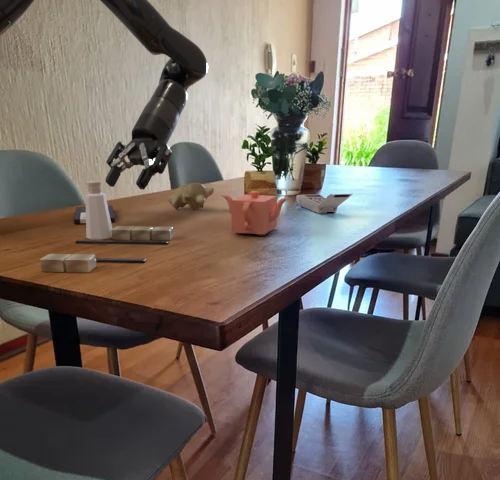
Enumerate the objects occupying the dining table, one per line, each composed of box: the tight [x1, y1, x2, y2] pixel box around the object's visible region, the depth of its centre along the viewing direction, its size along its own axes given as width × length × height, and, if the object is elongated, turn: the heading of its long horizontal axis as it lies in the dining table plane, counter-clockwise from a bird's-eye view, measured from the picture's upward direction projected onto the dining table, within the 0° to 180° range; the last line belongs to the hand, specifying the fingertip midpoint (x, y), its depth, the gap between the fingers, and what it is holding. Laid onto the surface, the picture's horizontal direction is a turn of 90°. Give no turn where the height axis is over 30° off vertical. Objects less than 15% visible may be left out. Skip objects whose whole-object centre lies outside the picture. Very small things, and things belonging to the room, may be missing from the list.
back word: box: [75, 225, 175, 245], centre depth 100 cm, size 18×7×2 cm, turn 86°
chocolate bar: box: [73, 205, 116, 225], centre depth 124 cm, size 9×1×18 cm
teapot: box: [220, 190, 291, 237], centre depth 106 cm, size 12×15×8 cm
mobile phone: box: [295, 193, 353, 215], centre depth 131 cm, size 6×6×25 cm
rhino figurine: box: [167, 182, 215, 211], centre depth 132 cm, size 8×7×12 cm
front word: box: [39, 253, 147, 273], centre depth 82 cm, size 15×7×2 cm, turn 86°
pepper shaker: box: [85, 179, 113, 240], centre depth 101 cm, size 5×5×11 cm
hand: (124, 185), depth 105 cm, fingers open, 8 cm apart
